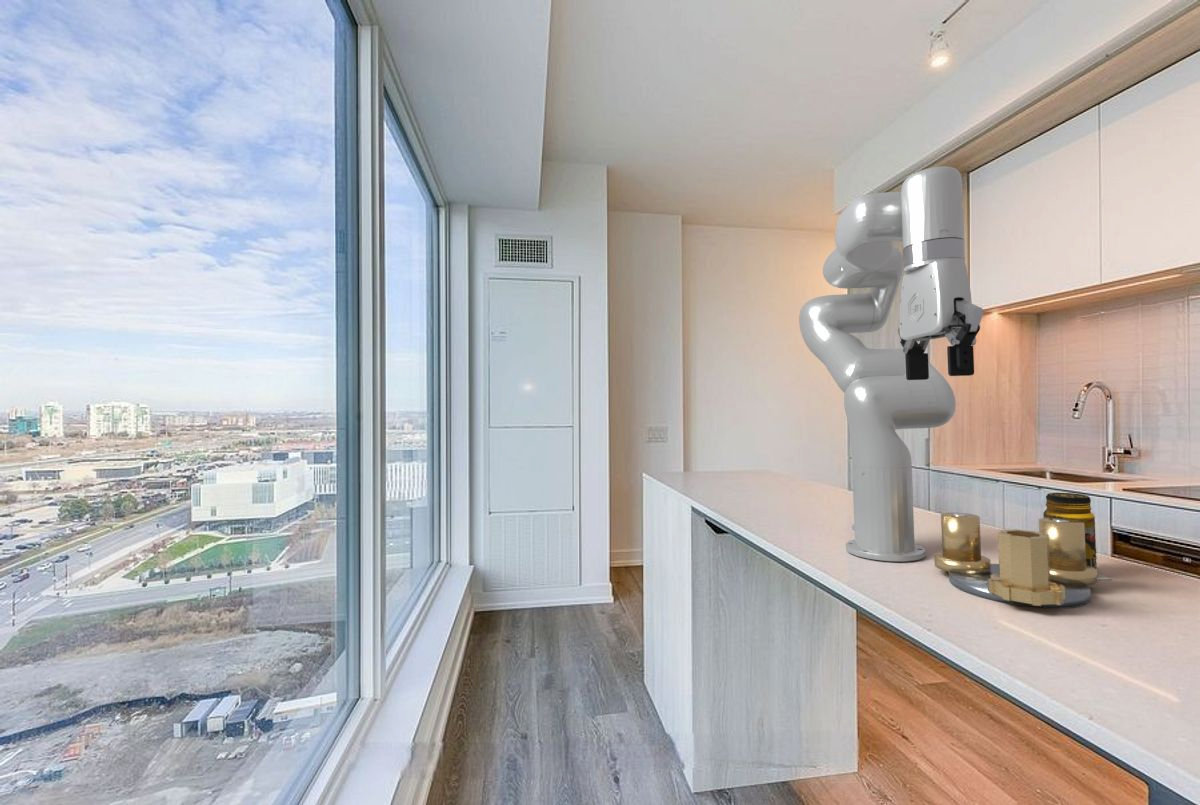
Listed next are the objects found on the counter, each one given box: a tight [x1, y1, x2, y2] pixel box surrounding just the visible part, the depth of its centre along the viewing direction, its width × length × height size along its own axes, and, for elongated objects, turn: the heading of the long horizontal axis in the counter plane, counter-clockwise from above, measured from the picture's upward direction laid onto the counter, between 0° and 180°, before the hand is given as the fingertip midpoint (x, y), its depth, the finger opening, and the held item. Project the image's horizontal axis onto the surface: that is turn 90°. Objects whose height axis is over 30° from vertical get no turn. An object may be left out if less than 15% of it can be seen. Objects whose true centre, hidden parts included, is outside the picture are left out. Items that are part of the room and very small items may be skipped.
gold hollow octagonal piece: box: [987, 528, 1065, 606], centre depth 72 cm, size 8×8×8 cm
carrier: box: [933, 512, 1098, 609], centre depth 79 cm, size 18×19×9 cm
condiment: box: [1042, 492, 1112, 581], centre depth 85 cm, size 7×8×12 cm
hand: (938, 377), depth 78 cm, fingers open, 9 cm apart
